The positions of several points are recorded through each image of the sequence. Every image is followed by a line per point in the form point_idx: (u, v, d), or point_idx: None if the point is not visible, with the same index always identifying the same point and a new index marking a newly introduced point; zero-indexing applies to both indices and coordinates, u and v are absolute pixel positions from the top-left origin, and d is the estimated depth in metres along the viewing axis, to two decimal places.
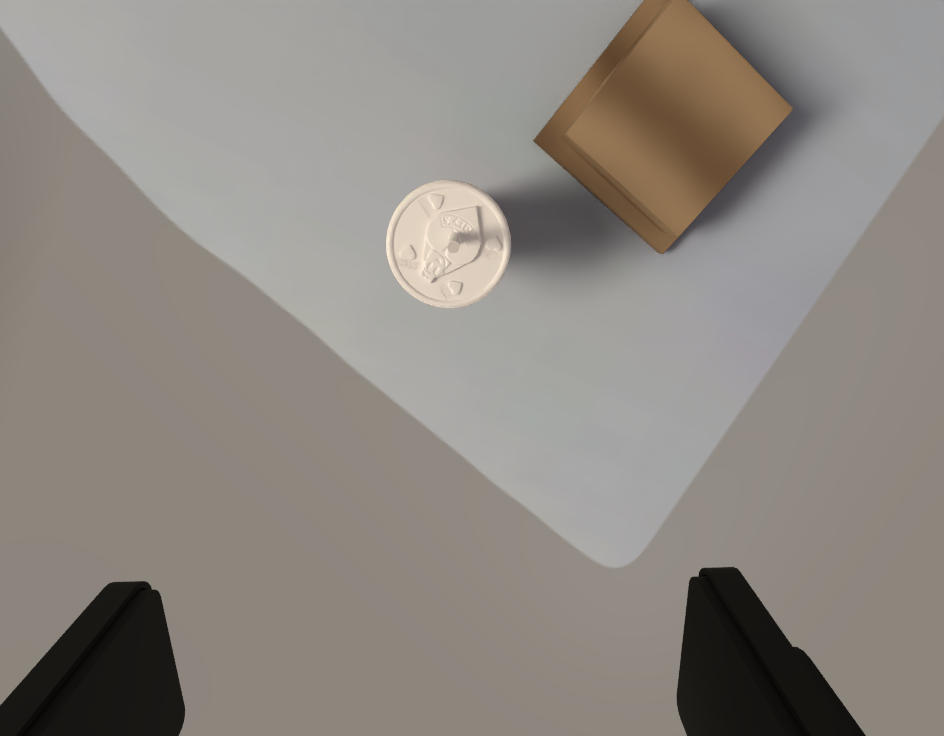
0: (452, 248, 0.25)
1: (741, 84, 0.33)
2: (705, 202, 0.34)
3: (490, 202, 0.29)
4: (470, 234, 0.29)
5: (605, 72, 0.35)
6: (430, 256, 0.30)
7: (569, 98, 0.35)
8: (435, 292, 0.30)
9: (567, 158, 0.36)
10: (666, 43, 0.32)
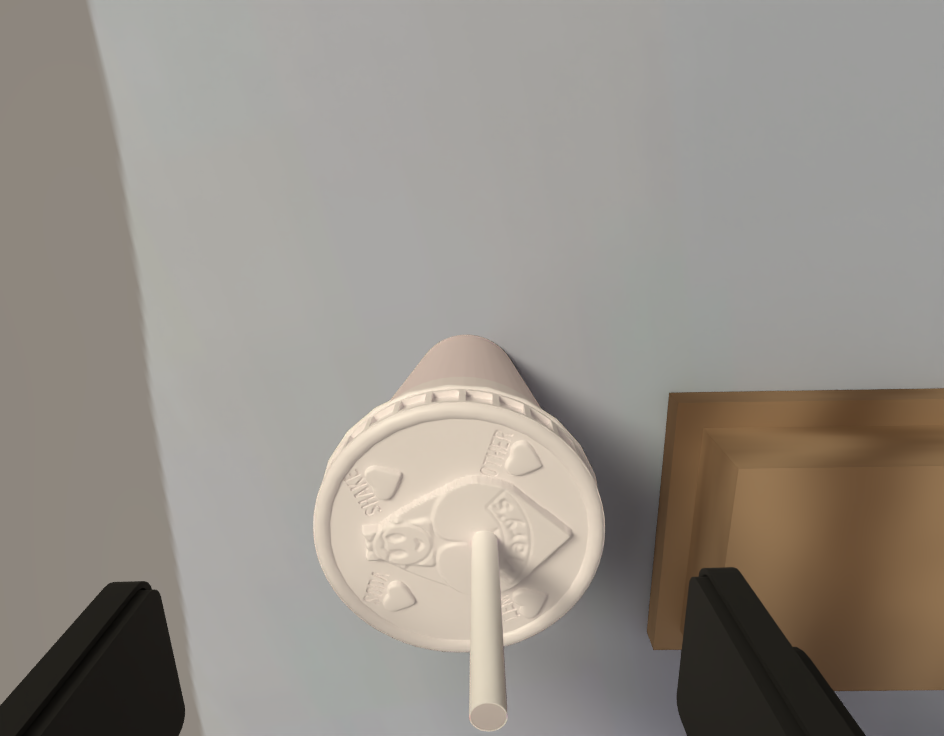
0: (481, 709, 0.09)
1: None
2: None
3: (597, 545, 0.13)
4: (513, 561, 0.13)
5: (829, 421, 0.21)
6: (413, 526, 0.12)
7: (765, 403, 0.21)
8: (358, 573, 0.13)
9: (685, 460, 0.22)
10: None
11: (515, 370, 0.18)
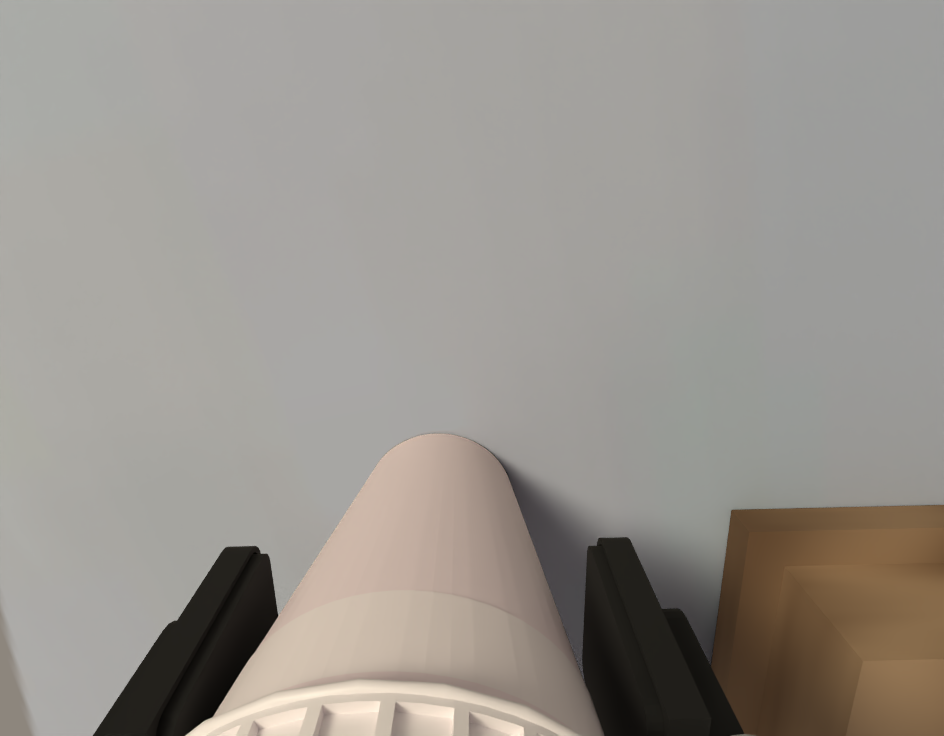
0: None
1: None
2: None
3: None
4: None
5: None
6: None
7: (875, 532, 0.14)
8: None
9: (756, 609, 0.15)
10: None
11: (510, 510, 0.12)
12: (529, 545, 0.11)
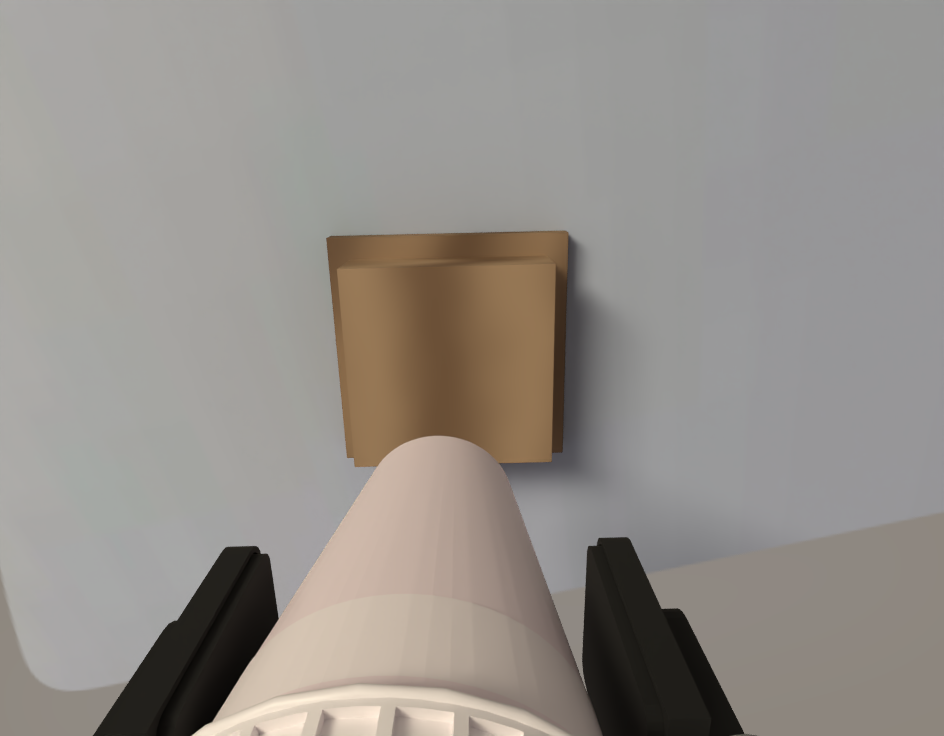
0: None
1: (530, 396, 0.26)
2: None
3: None
4: None
5: (446, 253, 0.27)
6: None
7: (394, 238, 0.27)
8: None
9: None
10: (503, 293, 0.25)
11: (510, 512, 0.12)
12: (529, 548, 0.11)
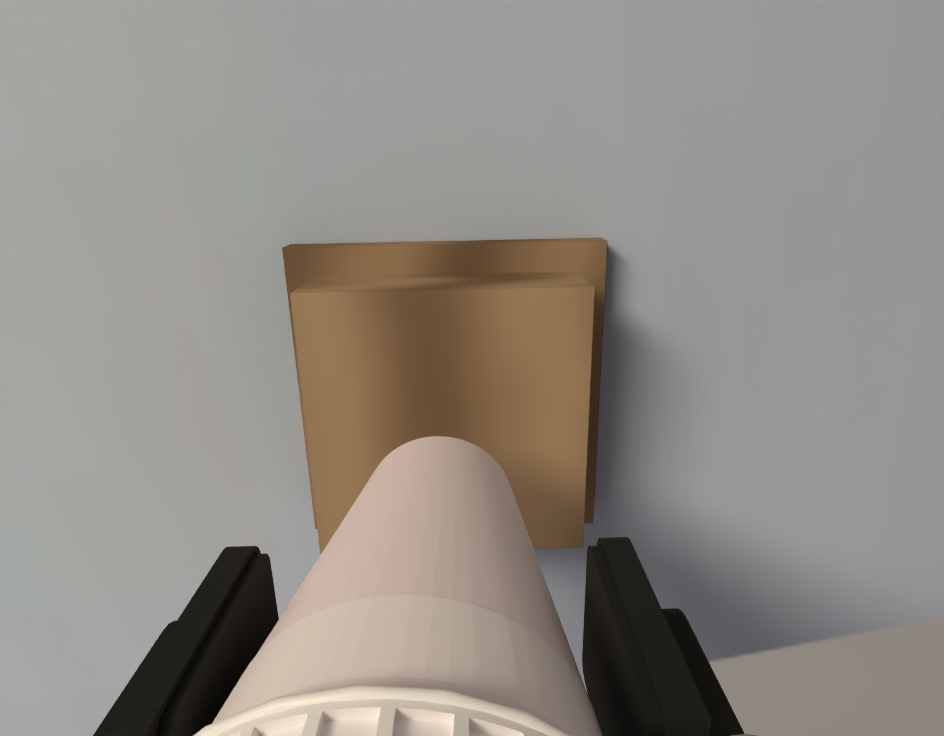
0: None
1: (556, 464, 0.19)
2: None
3: None
4: None
5: (443, 268, 0.20)
6: None
7: (373, 248, 0.20)
8: None
9: None
10: (521, 327, 0.18)
11: (510, 513, 0.12)
12: (529, 548, 0.11)
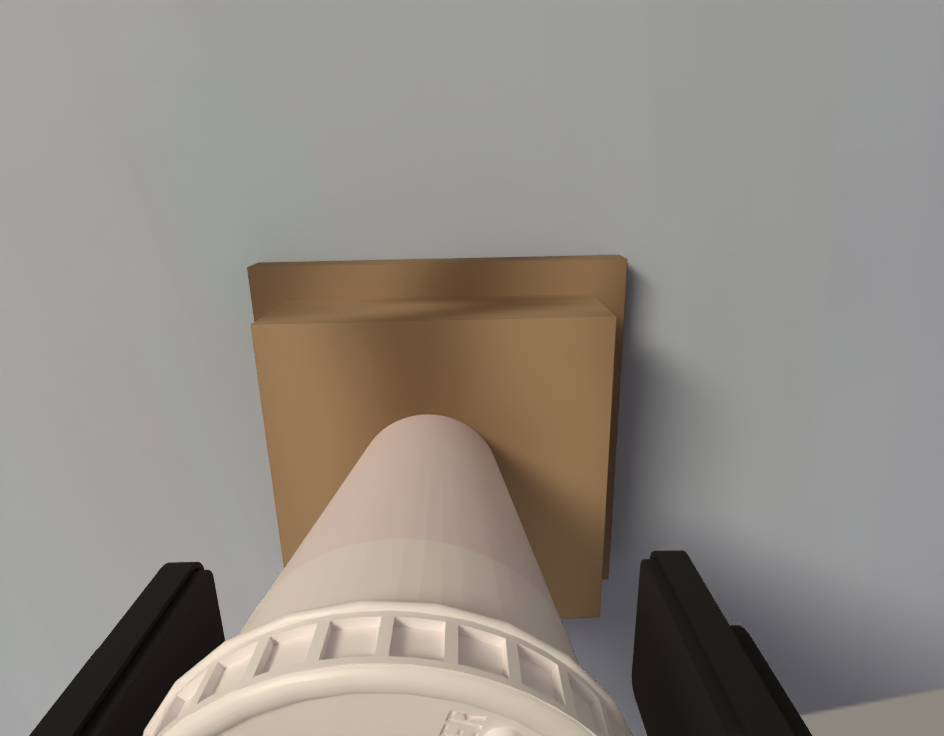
0: None
1: (569, 522, 0.16)
2: None
3: None
4: None
5: (436, 290, 0.17)
6: None
7: (353, 268, 0.17)
8: None
9: None
10: (529, 364, 0.15)
11: (495, 480, 0.13)
12: (513, 511, 0.12)
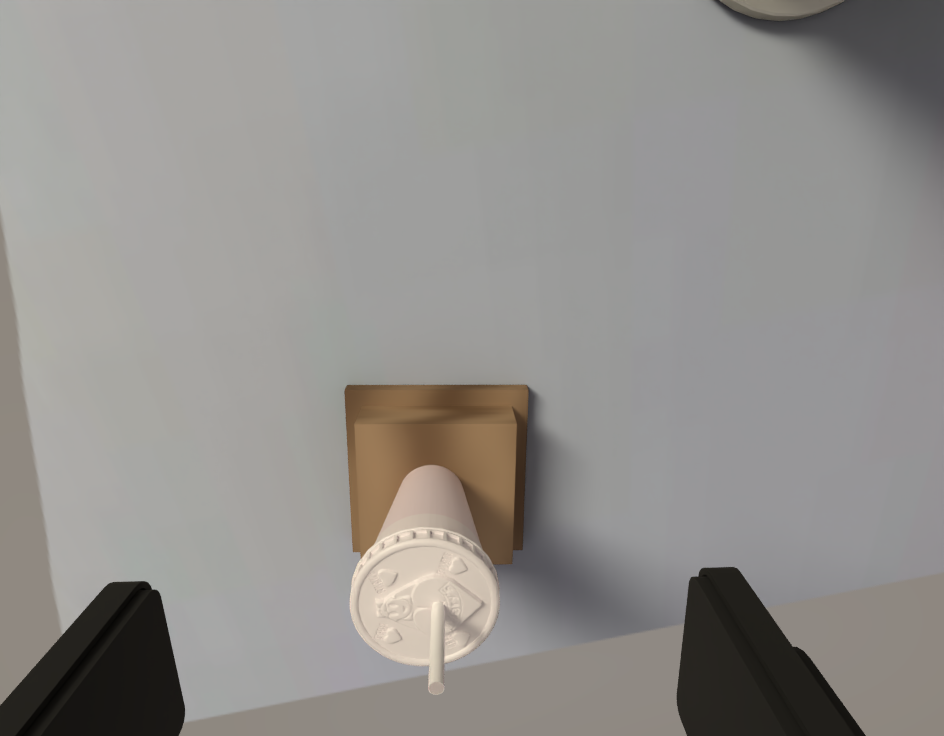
0: (433, 685, 0.21)
1: (497, 516, 0.34)
2: None
3: (495, 608, 0.25)
4: (452, 617, 0.25)
5: (436, 402, 0.36)
6: (402, 599, 0.24)
7: (396, 391, 0.35)
8: (371, 623, 0.25)
9: (354, 425, 0.36)
10: (478, 443, 0.33)
11: (460, 495, 0.31)
12: (467, 507, 0.30)
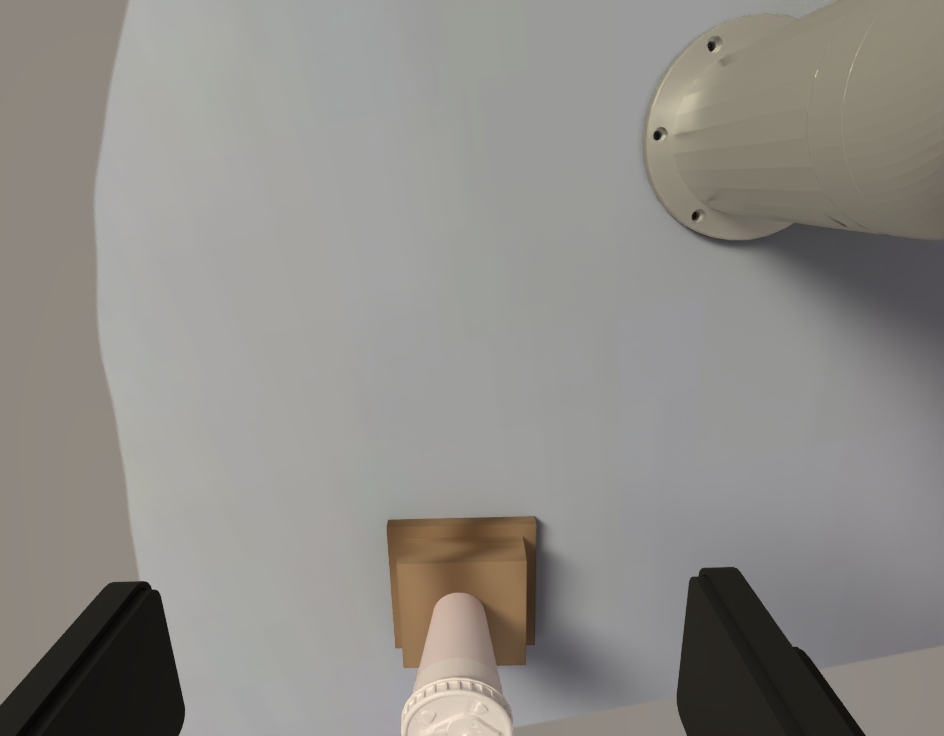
0: None
1: (512, 629, 0.43)
2: None
3: None
4: None
5: (461, 535, 0.44)
6: (439, 732, 0.33)
7: (428, 527, 0.43)
8: None
9: (394, 553, 0.44)
10: (495, 576, 0.41)
11: (482, 626, 0.39)
12: (487, 638, 0.38)
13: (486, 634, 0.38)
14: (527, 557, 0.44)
